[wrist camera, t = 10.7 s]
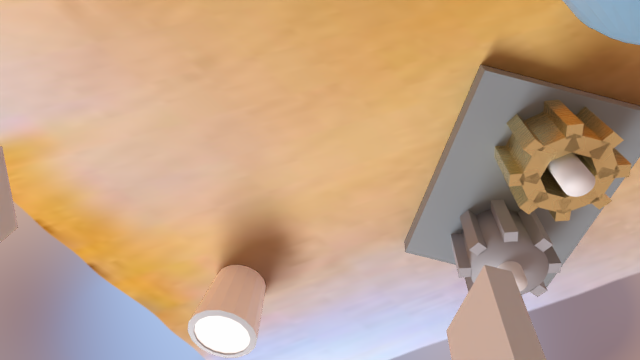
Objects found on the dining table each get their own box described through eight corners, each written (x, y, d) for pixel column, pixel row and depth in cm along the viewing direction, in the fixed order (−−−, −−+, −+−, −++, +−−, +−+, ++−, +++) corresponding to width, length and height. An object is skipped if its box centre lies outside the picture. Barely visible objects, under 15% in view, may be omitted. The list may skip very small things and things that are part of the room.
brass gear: (523, 89, 32) (543, 113, 28) (620, 115, 32) (654, 141, 28) (480, 175, 36) (493, 205, 32) (567, 197, 36) (590, 230, 32)
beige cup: (272, 309, 49) (258, 362, 43) (213, 302, 50) (191, 354, 44) (270, 263, 46) (255, 315, 40) (207, 257, 46) (182, 307, 40)
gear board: (480, 64, 33) (506, 99, 26) (656, 110, 33) (723, 155, 27) (404, 242, 42) (409, 299, 36) (541, 276, 42) (571, 339, 36)
